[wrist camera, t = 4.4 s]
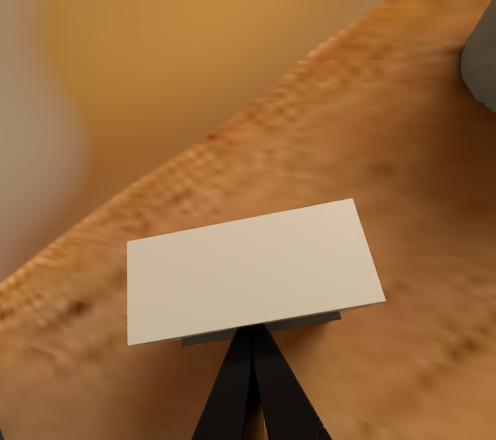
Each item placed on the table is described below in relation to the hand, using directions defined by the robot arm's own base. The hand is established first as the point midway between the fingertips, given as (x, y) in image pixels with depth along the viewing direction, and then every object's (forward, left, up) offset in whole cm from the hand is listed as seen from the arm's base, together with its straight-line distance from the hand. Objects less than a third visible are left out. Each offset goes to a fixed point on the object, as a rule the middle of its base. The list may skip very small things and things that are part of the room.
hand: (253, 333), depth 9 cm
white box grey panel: (+1, 0, -8) cm, 8 cm away
